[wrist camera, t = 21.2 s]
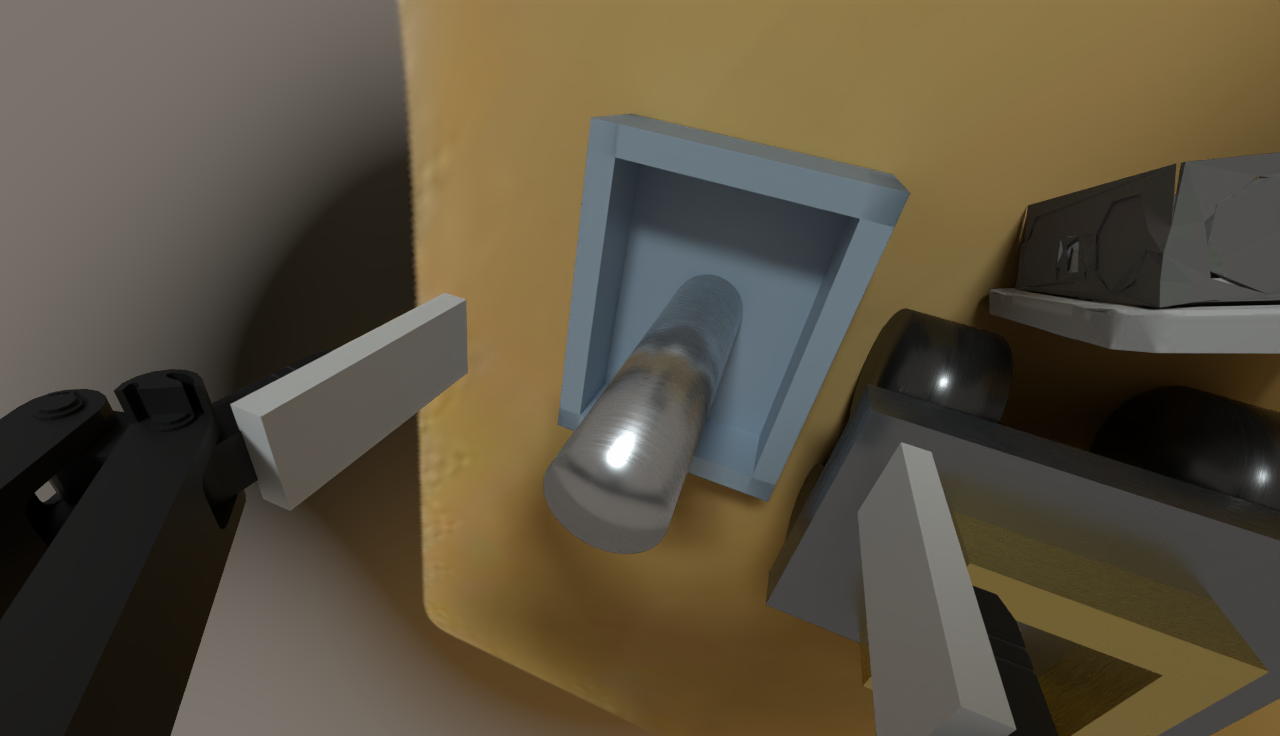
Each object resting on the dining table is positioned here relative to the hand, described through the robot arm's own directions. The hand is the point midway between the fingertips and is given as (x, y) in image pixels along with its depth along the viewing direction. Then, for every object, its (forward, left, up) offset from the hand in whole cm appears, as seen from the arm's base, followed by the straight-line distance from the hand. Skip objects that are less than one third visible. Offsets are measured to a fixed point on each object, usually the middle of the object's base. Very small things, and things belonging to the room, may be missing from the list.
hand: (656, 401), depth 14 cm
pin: (0, 0, -8) cm, 8 cm away
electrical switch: (-7, +13, -9) cm, 17 cm away
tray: (0, 0, -9) cm, 9 cm away
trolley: (+4, +13, -9) cm, 16 cm away
